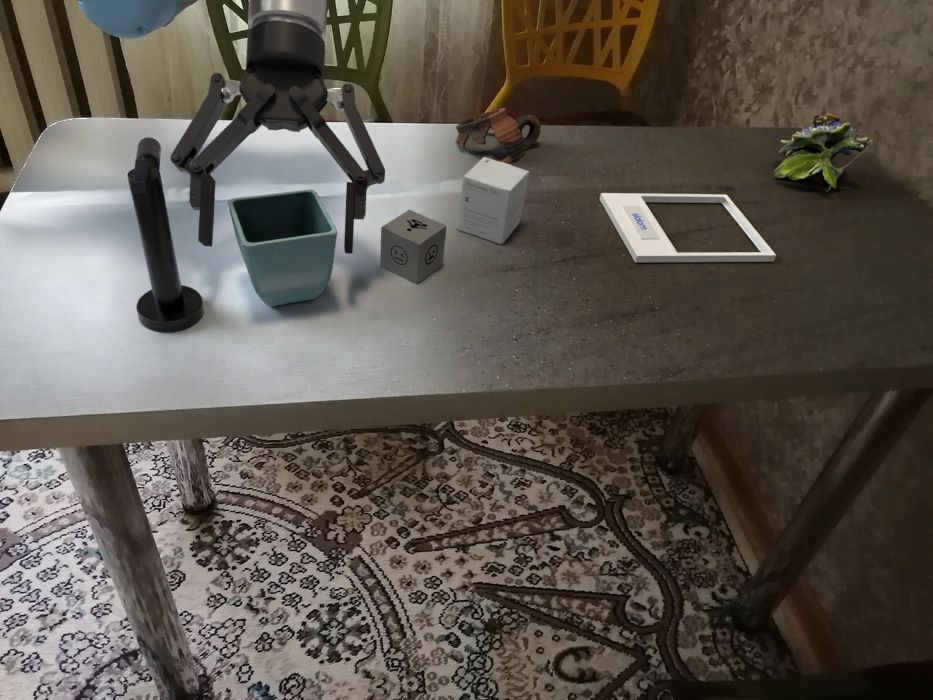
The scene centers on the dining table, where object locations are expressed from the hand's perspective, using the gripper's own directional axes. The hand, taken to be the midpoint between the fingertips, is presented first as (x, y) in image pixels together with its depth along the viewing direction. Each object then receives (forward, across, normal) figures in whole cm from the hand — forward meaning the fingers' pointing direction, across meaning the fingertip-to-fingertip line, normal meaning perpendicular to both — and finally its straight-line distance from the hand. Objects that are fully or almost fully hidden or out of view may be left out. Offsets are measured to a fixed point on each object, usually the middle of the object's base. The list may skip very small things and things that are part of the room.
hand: (277, 247), depth 72 cm
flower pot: (+4, 0, -5) cm, 6 cm away
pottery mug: (-19, -26, -28) cm, 43 cm away
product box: (-7, -23, -15) cm, 29 cm away
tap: (+5, +10, -3) cm, 12 cm away
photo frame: (-8, -48, -16) cm, 51 cm away
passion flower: (-19, -73, -27) cm, 80 cm away
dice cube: (0, -14, -9) cm, 16 cm away
